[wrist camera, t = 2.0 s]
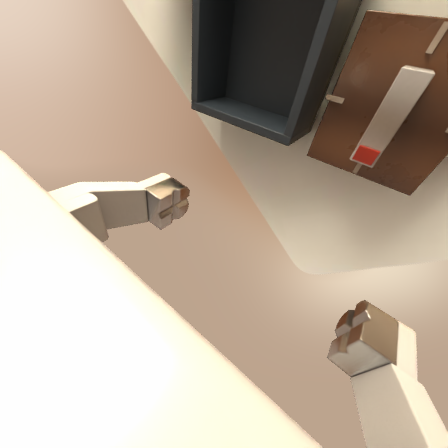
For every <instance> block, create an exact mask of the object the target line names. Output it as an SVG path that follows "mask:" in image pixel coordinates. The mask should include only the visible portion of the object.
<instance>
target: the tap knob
mask: <svg viewBox="0 0 448 448" xmlns="http://www.w3.org/2000/svg"><path fill="white" fill-rule="evenodd" d="M434 76H435V72H434V70H431V69H425V68H420V67H415V66H409V65H405V66H404V67H402V68H401V70H400V72H399V73H398V75H397V77H396V78H395V80H394V82H393V84H392V85H391V87H390V89H389V91H388V92H387V94H386V96H385V98H384V99H383V101H382V103H381V105H380V106H379V108H378V110H377V112H376V113H375V115H374V117H373V119H372V120H371V122H370V124H369V126H368V127H367V129H366V131H365V133H364V134H363V136H362V138H361V140H360V141H359V143H358V145H357V147H356V148H355V150H354V152H353V154H352V155H351V157H350V160H352V161H355V162H357V163H360V164H363V165H365V166H368V167H371V168H372V167H373V166H374V165H375V163H376V162H377V160H378V159H379V157H380V156H381V154H382V153H383V151H384V150H385V148H386V147H387V145H388V144H389V142H390V141H391V139H392V138H393V136H394V135H395V134H396V132H397V131H398V129H399V128H400V126H401V125H402V123H403V122H404V120H405V119H406V117H407V116H408V114H409V113H410V111H411V110H412V108H413V107H414V105H415V104H416V102H417V101H418V99H419V98H420V96H421V95H422V93H423V92H424V90H425V89H426V88H427V86H428V85H429V83H430V82H431V80H432V79H433V77H434Z"/></svg>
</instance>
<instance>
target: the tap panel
mask: <svg viewBox="0 0 448 448" xmlns="http://www.w3.org/2000/svg"><path fill="white" fill-rule="evenodd" d="M405 65H409V66H415V67H420V68H425V69H431V70H434V72H435V76H434V77H433V79H432V80H431V82H430V83H429V85H428V86H427V88H426V89H425V90H424V92H423V93H422V95H421V96H420V98H419V99H418V101H417V102H416V104H415V105H414V107H413V108H412V110H411V111H410V113H409V114H408V116H407V117H406V119H405V120H404V122H403V123H402V125H401V126H400V128H399V129H398V131H397V132H396V134H395V135H394V136H393V138H392V139H391V141H390V142H389V144H388V145H387V147H386V148H385V150H384V151H383V153H382V154H381V156H380V157H379V159H378V160H377V162H376V163H375V165H374V166H373V167H372V168H371V167H368V166H365V165H363V164H360V163H357V162H355V161H352V160H350V157H351V155H352V154H353V152H354V150H355V148H356V147H357V145H358V143H359V141H360V140H361V138H362V136H363V134H364V133H365V131H366V129H367V127H368V126H369V124H370V122H371V120H372V119H373V117H374V115H375V113H376V112H377V110H378V108H379V106H380V105H381V103H382V101H383V99H384V98H385V96H386V94H387V92H388V91H389V89H390V87H391V85H392V84H393V82H394V80H395V78H396V77H397V75H398V73H399V72H400V70H401V68H402V67H404V66H405ZM325 99H327V100H329V103H328V105H327V108H326V110H325V112H324V115H323V117H322V120H321V122H320V124H319V127H318V129H317V132H316V134H315V136H314V139H313V141H312V144H311V146H310V149H309V151H308V153H307V156H310V157H312V158H315V159H317V160H320V161H322V162H325V163H327V164H330V165H333V166H335V167H338V168H340V169H343V170H345V171H348V172H351V173H353V174H356V175H358V176H361V177H363V178H366V179H368V180H371V181H374V182H376V183H379V184H381V185H384V186H386V187H389V188H392V189H394V190H397V191H399V192H402V193H404V194H407V195H411V194H412V193H413V192H414V191H415V190H416V189H417V187H418V186H419V185H420V184H421V183H422V182H423V181H424V180H425V179H426V177H427V176H428V175H429V174H430V173H431V172H432V171H433V170H434V169H435V168H436V166H437V165H438V164H439V163H440V162H441V161H442V160H443V159H444V158H445V156H446V155H447V154H448V18H441V17H431V16H422V15H412V14H403V13H394V12H384V11H375V10H367V11H366V14H365V16H364V18H363V21H362V23H361V26H360V28H359V30H358V33H357V35H356V38H355V40H354V42H353V45H352V47H351V50H350V52H349V55H348V57H347V59H346V62H345V64H344V67H343V69H342V71H341V74H340V76H339V79H338V81H337V83H336V86H335V88H334V91H333V93H332V95H330V94H327V95H326V97H325Z"/></svg>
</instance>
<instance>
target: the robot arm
mask: <svg viewBox="0 0 448 448" xmlns="http://www.w3.org/2000/svg"><path fill="white" fill-rule="evenodd" d="M189 193H190V190H189V189H188V188H187V187H186V186H184V185H183V184H181V183H180V182H179V181H177V180H175V179H174V178H172V177H171V176H169V175H168V174H166V173H161V174H158V175H156V176H154V177H151V178H149V179H146V180H143V181H141V182H139V183H135V182H78V183H75V184H72V185H69V186H66V187H63V188H60V189H57V190H53V191H50V192H47V191H46V190H45V189H43V188H42V187H41V186H40V185H39V184H38V183H37V182H36V181H35V180H34V179H33V178H32V177H31V176H29V175H28V174H27V173H26V172H25V171H24V170H23V169H22V168H21V167H20V166H19V165H18V164H16V163H15V162H14V161H13V160H12V159H11V158H10V157H9V156H8V155H7V154H6V153H4V152H3V151H2V150H0V448H323V447H322V446H321V445H320V444H319V443H318V442H317V441H316V440H314V439H313V438H312V437H311V436H310V435H309V434H308V433H307V432H306V431H305V430H304V429H303V428H301V427H300V426H299V425H298V424H297V423H296V422H295V421H294V420H293V419H292V418H291V417H290V416H288V415H287V414H286V413H285V412H284V411H283V410H282V409H281V408H280V407H279V406H278V405H277V404H276V403H274V402H273V401H272V400H271V399H270V398H269V397H268V396H267V395H266V394H265V393H264V392H263V391H262V390H260V389H259V388H258V387H257V386H256V385H255V384H254V383H253V382H252V381H251V380H250V379H249V378H248V377H246V376H245V375H244V374H243V373H242V372H241V371H240V370H239V369H238V368H237V367H236V366H235V365H234V364H232V363H231V362H230V361H229V360H228V359H227V358H226V357H225V356H224V355H223V354H222V353H220V351H218V350H217V349H216V348H215V347H214V346H213V345H212V344H211V343H210V342H209V341H208V340H207V339H205V338H204V337H203V336H202V335H201V334H200V333H199V332H198V331H197V330H196V329H195V328H194V327H192V326H191V325H190V324H189V323H188V322H187V321H186V320H185V319H184V318H183V317H182V316H181V315H180V314H178V313H177V312H176V311H175V310H174V309H173V308H172V307H171V306H170V305H169V304H168V303H167V302H166V301H164V300H163V299H162V298H161V297H160V296H159V295H158V294H157V293H156V292H155V291H154V290H152V288H150V287H149V286H148V285H147V284H146V283H145V282H144V281H143V280H142V279H141V278H140V277H139V276H138V275H136V274H135V273H134V272H133V271H132V270H131V269H130V268H129V267H128V266H127V265H126V264H125V263H123V262H122V261H121V260H120V259H119V258H118V257H117V256H116V255H115V254H114V253H113V252H112V251H111V250H109V249H108V248H107V247H106V246H105V245H104V244H103V243H102V242H104V241H106V240H107V239H108V237H109V236H108V233H107V229H111V228H117V227H122V226H128V225H133V224H138V223H144V222H148V221H150V222H151V223H152V224H154V225H155V226H156V227H158V228H159V229H163V228H165V227H166V226H168V225H169V224H171V223H172V220H173V219H179V218H181V217H182V216H183V215H184V214H185V213H186V211H187V209H188V205H189V203H188V200H187V197H188V196H189ZM335 332H336V336H337V338H336V339H335V340H333V341H332V343H331V346H330V350H329V353H328V356H327V358H328V359H329V360H331V361H332V362H333V363H334V364H335V365H337V366H338V367H339V368H340V369H342V370H343V371H344V372H345V373H347V374H348V375H349V376H350V377H351V378H350V379H351V383H352V388H353V392H354V397H355V401H356V405H357V410H358V414H359V418H360V423H361V427H362V431H363V435H364V440H365V444H366V448H448V432H447V430H446V428H445V426H444V424H443V422H442V420H441V418H440V416H439V414H438V413H437V411H436V409H435V407H434V405H433V403H432V401H431V399H430V397H429V396H428V394H427V392H426V390H425V388H424V386H423V385H422V384H420V383H419V382H418V381H417V346H416V345H417V343H416V333H415V331H414V330H412V329H411V328H409V327H408V326H406V325H405V324H403V323H401V322H400V321H398V320H396V319H395V318H392V317H391V316H390V315H388V314H386V313H385V312H383V311H382V310H380V309H379V308H377V307H375V306H374V305H372V304H371V303H369V302H367V301H366V300H364V301H361V302H359V303H358V304H357V305H356V309H355V310H348V311H347V312H346V313H345V314H344V315H343V316H342V317H341V318H340V320H339V322H338V324H337V326H336V329H335Z"/></svg>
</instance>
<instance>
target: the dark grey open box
mask: <svg viewBox="0 0 448 448" xmlns="http://www.w3.org/2000/svg"><path fill="white" fill-rule="evenodd" d="M361 2H362V0H192V109H193V110H196V111H199V112H201V113H204V114H206V115H209V116H212V117H214V118H217V119H219V120H222V121H225V122H227V123H230V124H232V125H235V126H238V127H240V128H243V129H245V130H248V131H251V132H253V133H256V134H258V135H261V136H263V137H266V138H269V139H271V140H274V141H276V142H279V143H282V144H284V145H287V146H289V145H291V144H292V143H294V142H295V141H297V140H298V139H300V138H301V137H303V136H304V135H306V134H307V133H309V132H310V131H311V128H312V126H313V123H314V121H315V118H316V116H317V113H318V111H319V108H320V106H321V103H322V100H323V98H324V95H325V93H326V90H327V88H328V85H329V83H330V80H331V78H332V75H333V73H334V70H335V68H336V65H337V62H338V60H339V57H340V55H341V52H342V50H343V47H344V45H345V42H346V40H347V37H348V35H349V32H350V29H351V27H352V24H353V22H354V19H355V17H356V14H357V12H358V9H359V7H360V4H361Z"/></svg>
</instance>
